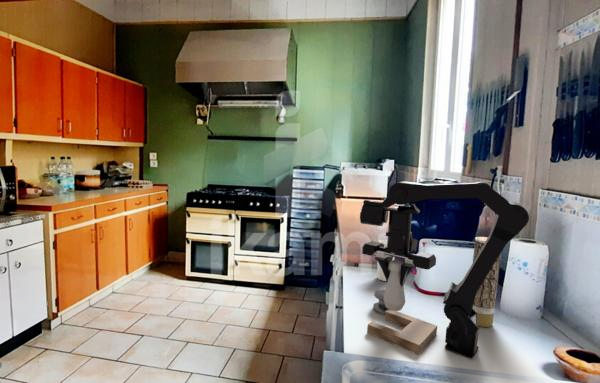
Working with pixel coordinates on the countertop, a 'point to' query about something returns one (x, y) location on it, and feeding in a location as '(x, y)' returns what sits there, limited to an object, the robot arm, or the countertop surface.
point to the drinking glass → (379, 270)
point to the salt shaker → (394, 288)
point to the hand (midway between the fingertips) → (395, 284)
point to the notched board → (404, 331)
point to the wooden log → (486, 289)
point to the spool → (380, 302)
